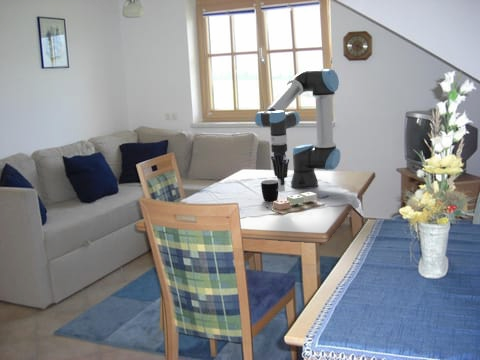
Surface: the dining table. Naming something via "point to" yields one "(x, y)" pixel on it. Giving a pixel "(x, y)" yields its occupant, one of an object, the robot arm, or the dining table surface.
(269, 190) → the mug
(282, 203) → the pink square block
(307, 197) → the tile
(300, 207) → the board
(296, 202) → the tile
